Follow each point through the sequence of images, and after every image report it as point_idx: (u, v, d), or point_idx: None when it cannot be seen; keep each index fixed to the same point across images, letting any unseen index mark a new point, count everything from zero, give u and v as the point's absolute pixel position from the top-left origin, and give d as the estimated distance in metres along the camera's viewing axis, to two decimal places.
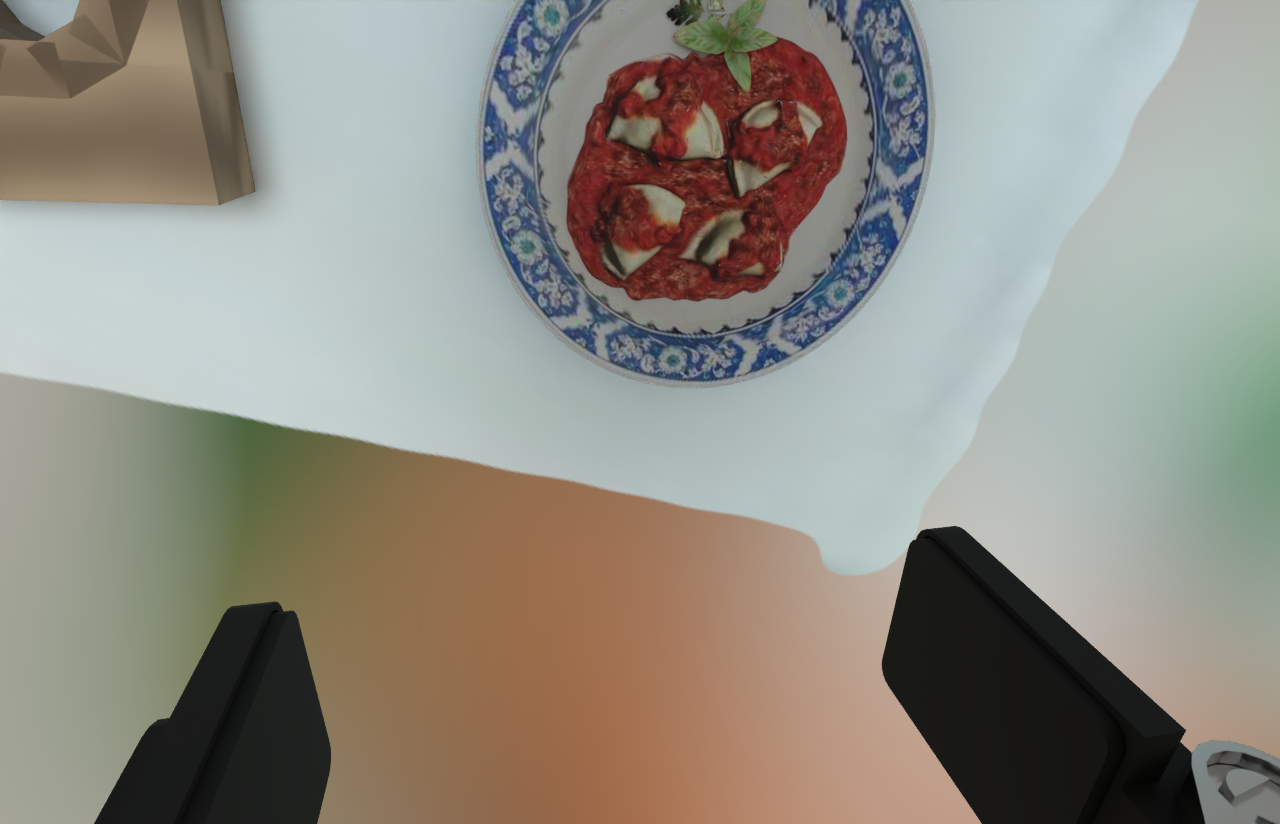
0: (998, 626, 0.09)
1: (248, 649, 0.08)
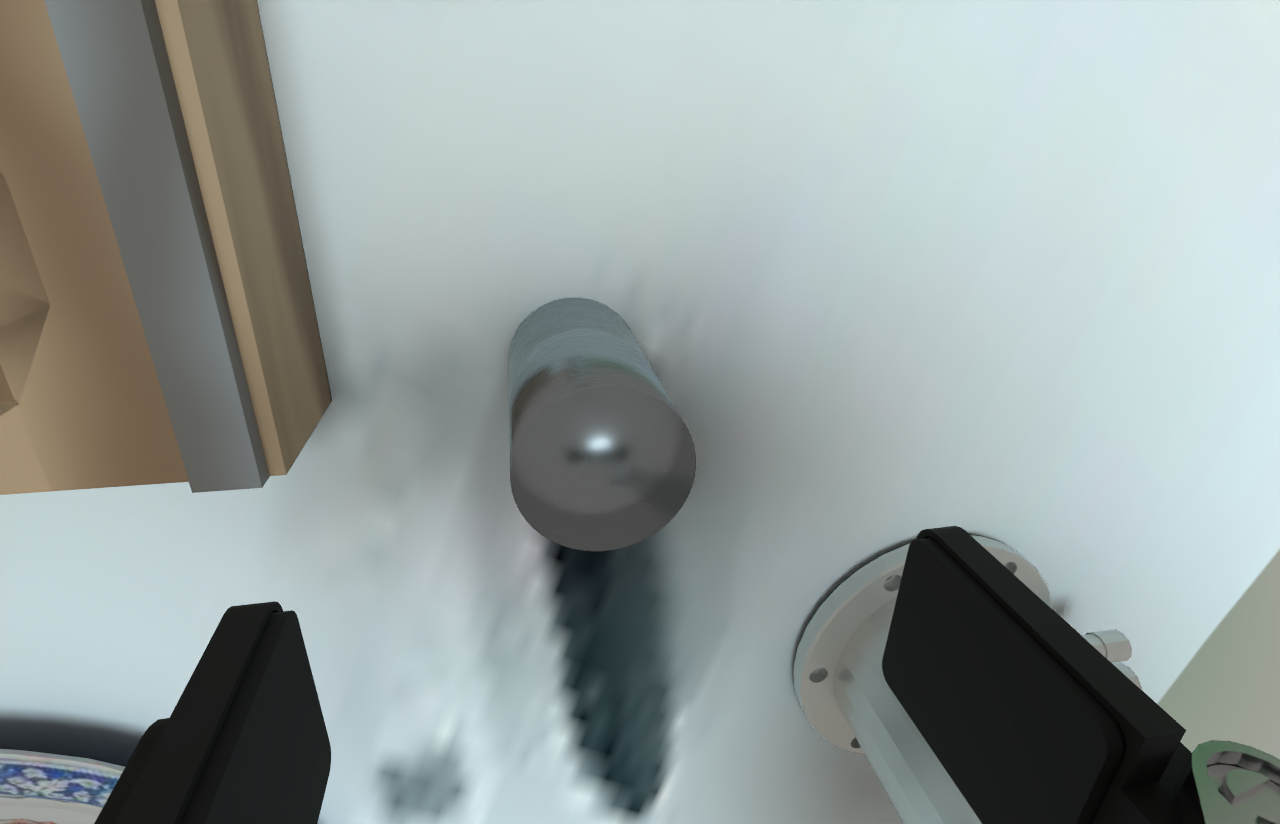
0: (998, 626, 0.09)
1: (248, 649, 0.08)
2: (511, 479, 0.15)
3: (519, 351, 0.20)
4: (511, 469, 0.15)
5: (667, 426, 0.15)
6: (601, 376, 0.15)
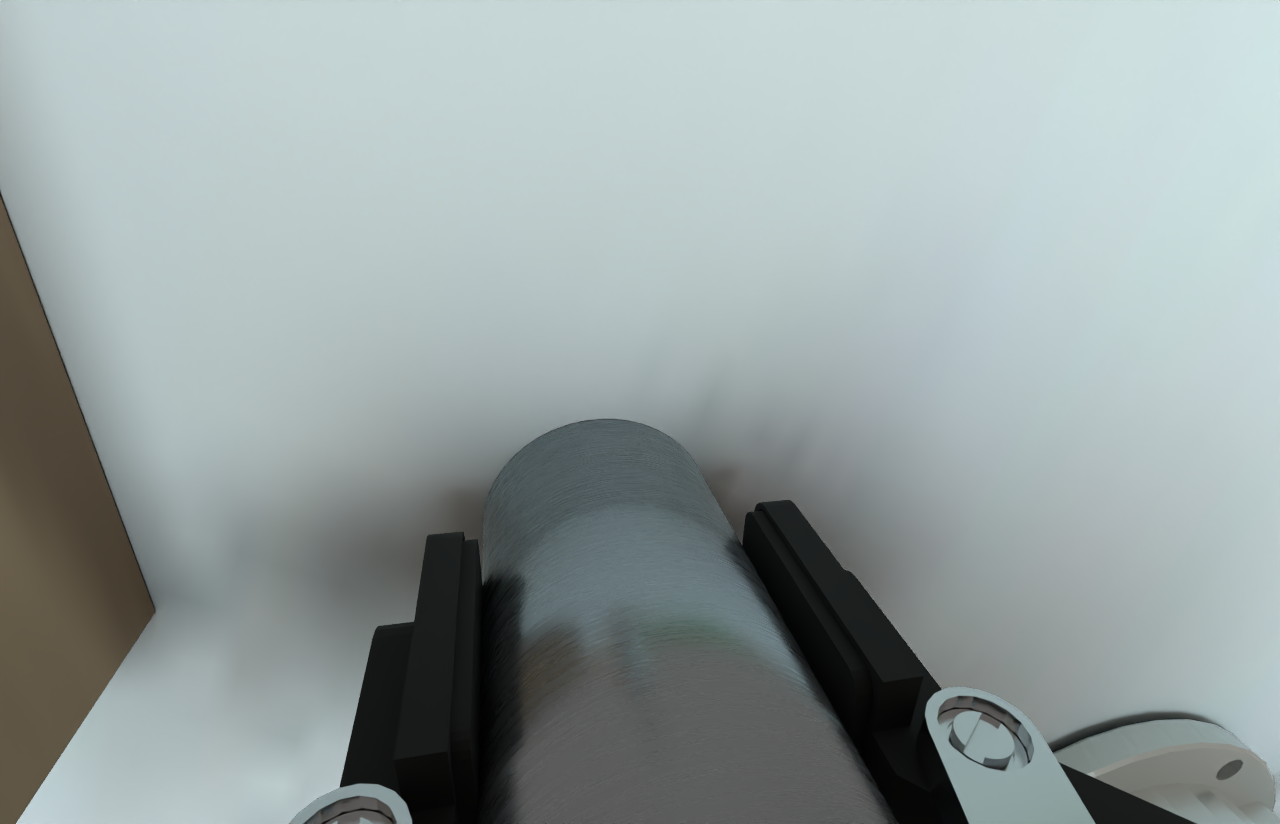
0: (796, 588, 0.09)
1: (456, 565, 0.09)
2: None
3: (500, 555, 0.10)
4: None
5: None
6: (726, 800, 0.05)
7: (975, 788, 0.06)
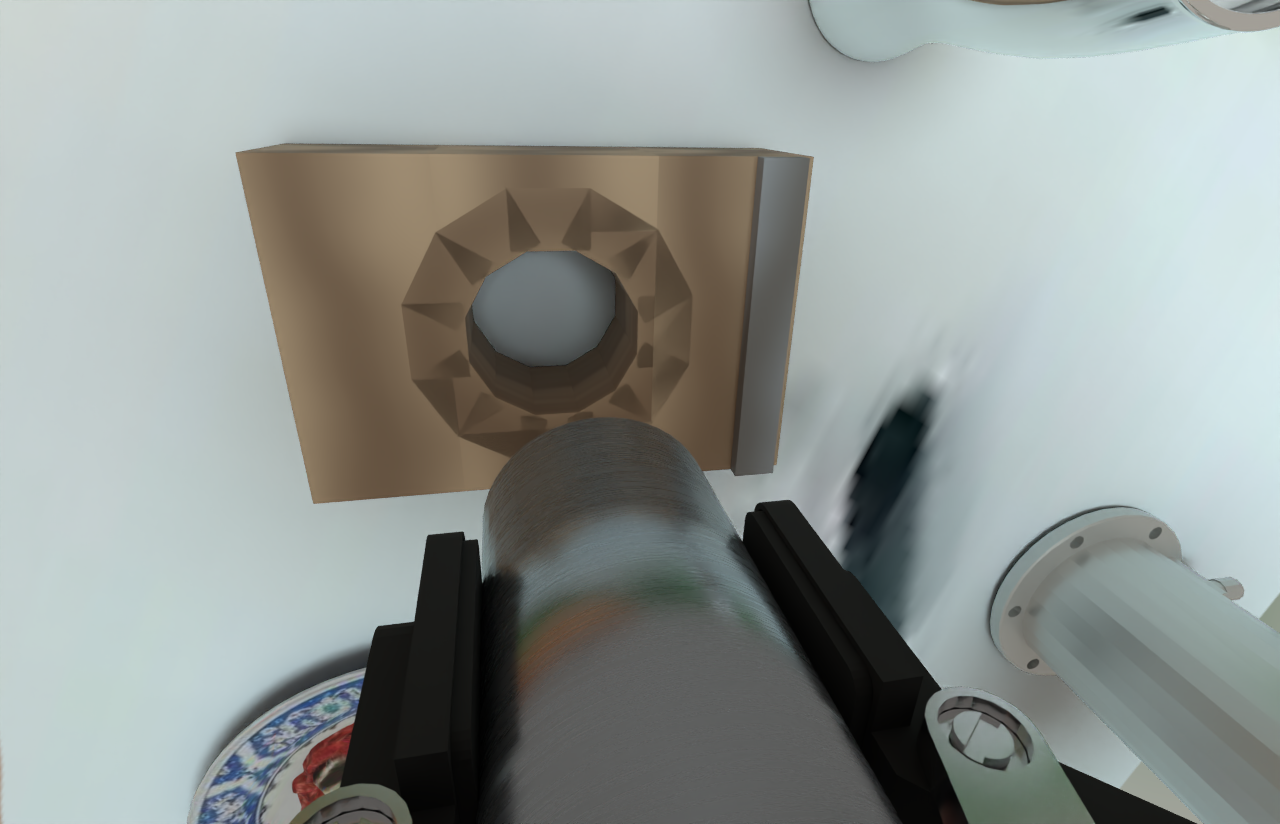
0: (796, 588, 0.09)
1: (457, 565, 0.09)
2: None
3: (500, 554, 0.10)
4: None
5: None
6: (728, 802, 0.05)
7: (975, 788, 0.06)
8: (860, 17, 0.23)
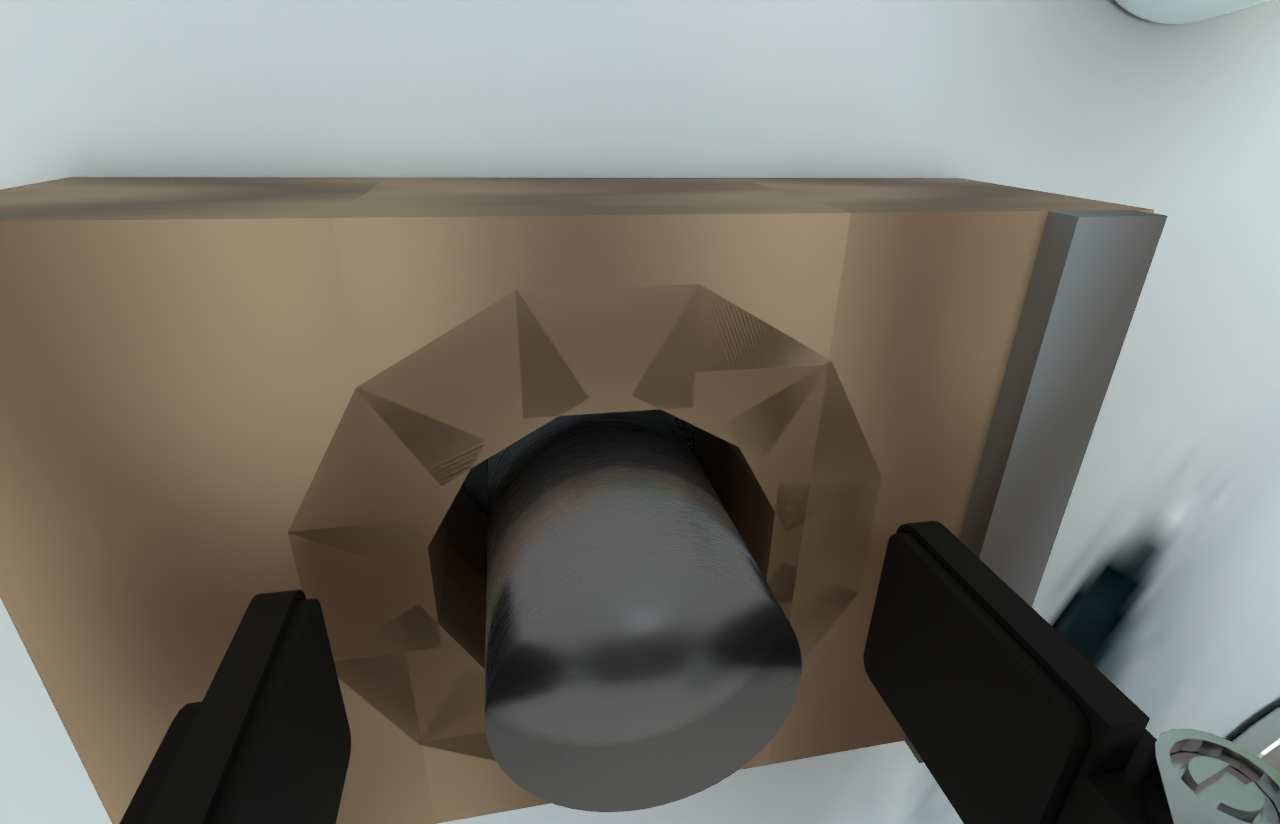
0: (972, 618, 0.09)
1: (275, 634, 0.08)
2: (486, 726, 0.09)
3: None
4: (486, 711, 0.08)
5: (759, 626, 0.09)
6: (644, 542, 0.09)
7: (1198, 822, 0.06)
8: None
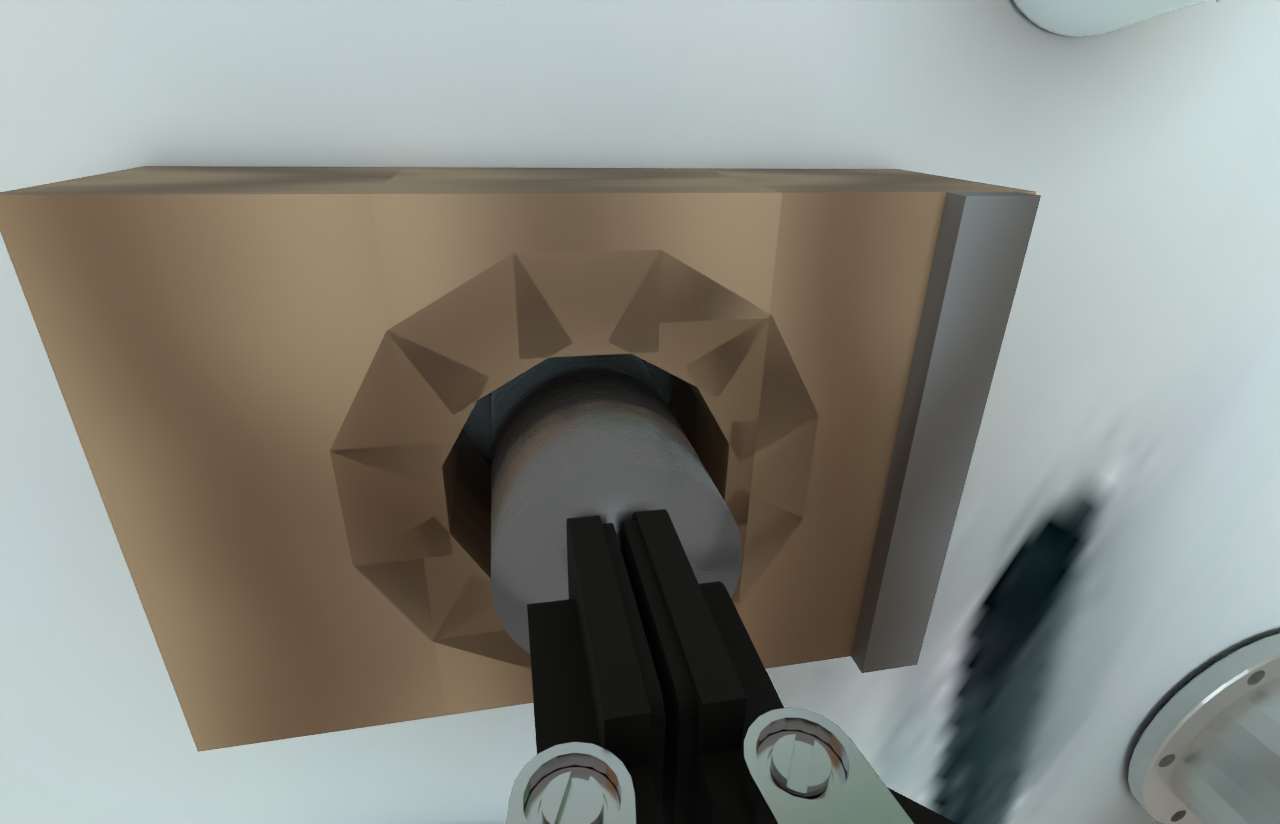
0: (648, 602, 0.09)
1: (604, 546, 0.10)
2: (492, 590, 0.11)
3: (503, 392, 0.15)
4: (492, 577, 0.11)
5: (706, 514, 0.11)
6: (615, 447, 0.11)
7: None
8: None
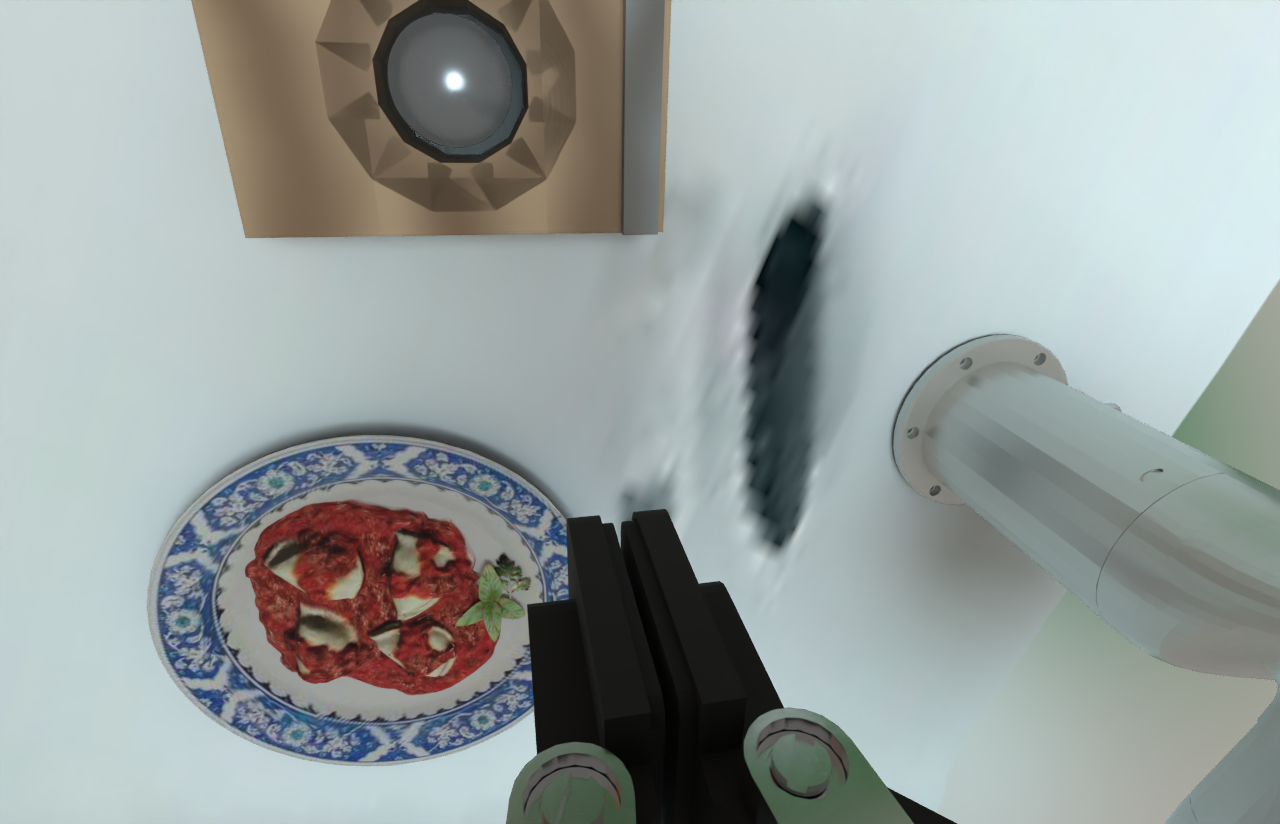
0: (648, 602, 0.09)
1: (603, 546, 0.10)
2: (388, 80, 0.24)
3: None
4: (388, 72, 0.24)
5: (489, 49, 0.24)
6: None
7: None
8: None
